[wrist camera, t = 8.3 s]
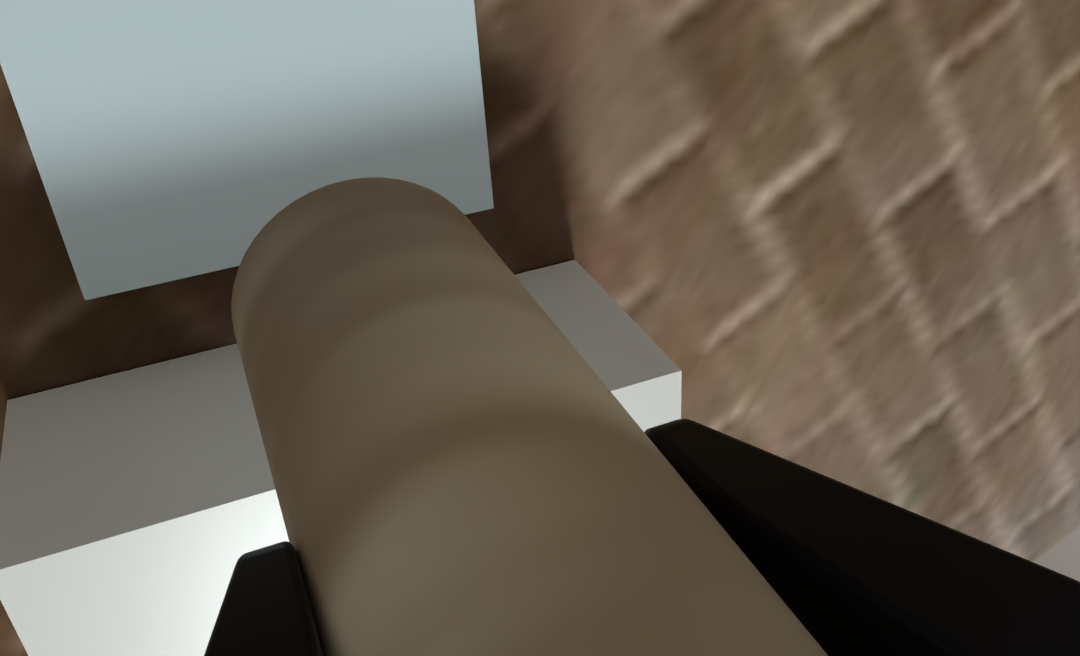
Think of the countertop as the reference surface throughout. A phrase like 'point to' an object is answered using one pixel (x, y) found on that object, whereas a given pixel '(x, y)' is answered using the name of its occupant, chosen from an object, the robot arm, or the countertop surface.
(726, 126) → the countertop surface
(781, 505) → the robot arm
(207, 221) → the pad
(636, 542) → the dowel
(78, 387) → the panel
